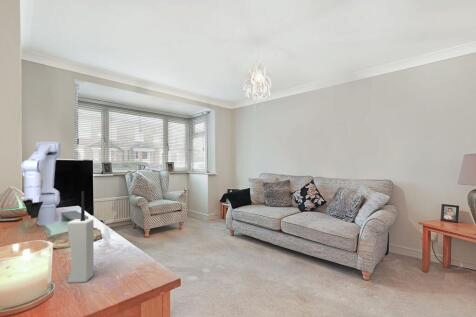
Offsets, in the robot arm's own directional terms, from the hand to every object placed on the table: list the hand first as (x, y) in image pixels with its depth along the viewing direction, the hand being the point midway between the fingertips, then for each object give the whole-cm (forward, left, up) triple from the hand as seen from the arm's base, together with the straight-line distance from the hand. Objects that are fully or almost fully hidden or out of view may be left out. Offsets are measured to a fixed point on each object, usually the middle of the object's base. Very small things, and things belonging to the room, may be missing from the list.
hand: (32, 216), depth 105 cm
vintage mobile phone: (+62, +2, -9) cm, 63 cm away
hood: (+1, +16, -8) cm, 18 cm away
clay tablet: (+25, +9, -9) cm, 28 cm away
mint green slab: (+1, +11, -9) cm, 14 cm away
